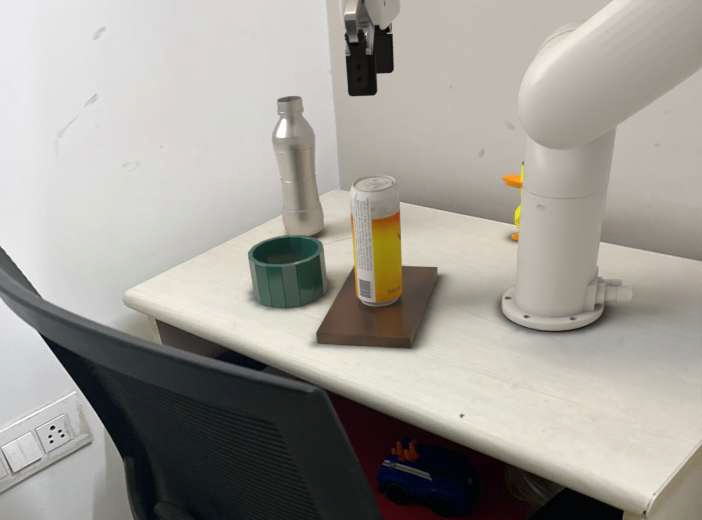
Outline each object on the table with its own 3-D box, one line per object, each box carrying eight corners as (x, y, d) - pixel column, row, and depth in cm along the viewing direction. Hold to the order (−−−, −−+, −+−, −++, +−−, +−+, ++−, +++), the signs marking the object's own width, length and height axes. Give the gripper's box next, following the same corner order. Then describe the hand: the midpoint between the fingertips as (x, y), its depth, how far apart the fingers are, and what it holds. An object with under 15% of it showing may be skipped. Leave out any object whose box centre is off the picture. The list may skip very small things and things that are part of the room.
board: (437, 276, 109) (437, 266, 108) (410, 348, 94) (410, 337, 93) (355, 274, 112) (354, 264, 111) (316, 343, 98) (315, 332, 97)
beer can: (410, 291, 103) (408, 176, 93) (388, 311, 99) (383, 193, 89) (371, 284, 105) (364, 171, 96) (348, 303, 102) (339, 188, 92)
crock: (335, 275, 112) (331, 235, 108) (315, 309, 105) (310, 267, 101) (268, 273, 115) (262, 234, 111) (244, 306, 107) (236, 265, 103)
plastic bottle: (321, 241, 122) (307, 104, 109) (280, 242, 123) (261, 106, 110) (329, 225, 127) (316, 92, 114) (289, 226, 128) (272, 94, 115)
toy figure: (493, 237, 117) (497, 154, 109) (507, 229, 119) (512, 147, 111) (532, 246, 113) (539, 162, 105) (545, 238, 115) (553, 154, 107)
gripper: (382, -101, 70) (390, 103, 81) (413, -116, 83) (416, 63, 94) (303, -93, 72) (321, 106, 83) (345, -108, 84) (356, 66, 96)
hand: (372, 83), depth 88 cm, fingers open, 9 cm apart
